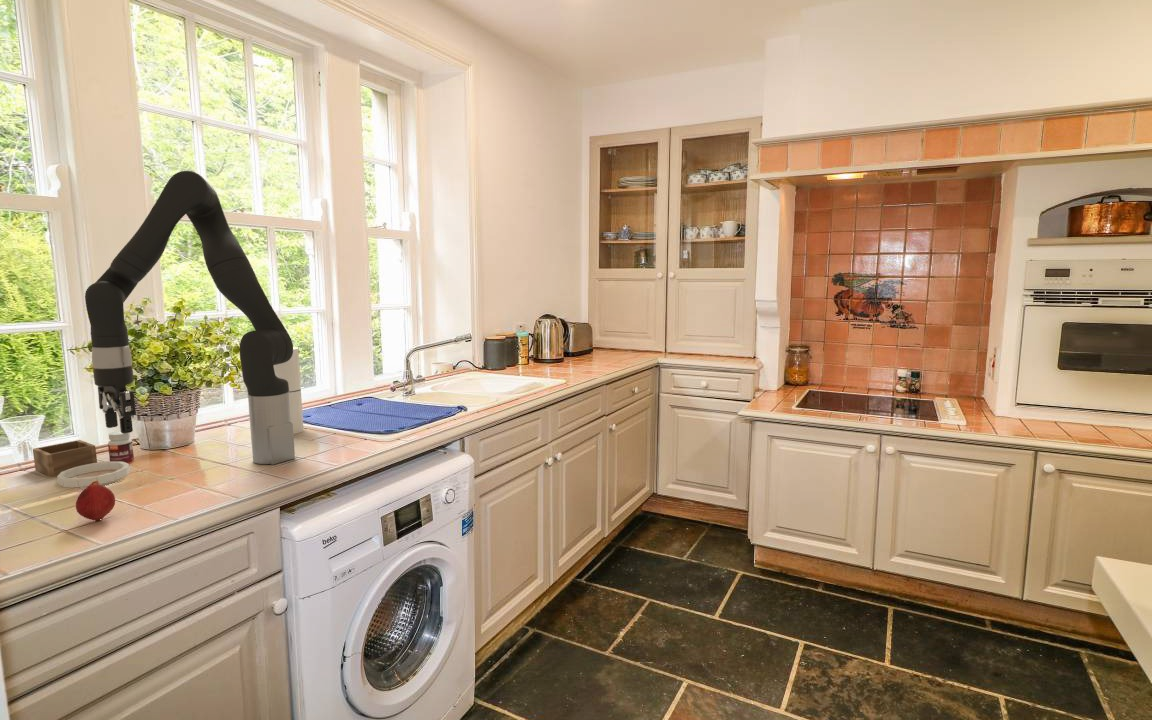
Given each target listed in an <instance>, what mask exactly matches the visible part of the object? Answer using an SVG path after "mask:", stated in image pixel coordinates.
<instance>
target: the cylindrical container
mask: <svg viewBox="0 0 1152 720" xmlns="http://www.w3.org/2000/svg"><path fill="white" fill-rule="evenodd" d="M299 353H300V352H299V347H295V346H293V354H292V357H291V358H290V360H288V361H287V362H285V363H281V364H277V365H273V366H274V372H275V375H276V376H277V377H278V378H281V379H285V380H287V382H288V385H289V400H290V415H291V422H292V423H293V435H295V434H299V433H301V432H304V419H303V417H304V416H303V415H304V414H303V403H302V400H303V399H302V387H301V386H302V385H301V369H300V357H299Z"/></svg>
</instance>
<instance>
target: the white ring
mask: <svg viewBox="0 0 1152 720" xmlns="http://www.w3.org/2000/svg"><path fill="white" fill-rule="evenodd" d="M107 470H108V471H109V470H111V471H112V470H113V471H112V472H108V473H102V474H100V475H96V476H95V475H93V476H88V477H87V476H85V477H77V476H80V475H83V474H86V473H87V474H88V473H92V472H99V471H107ZM130 472H131V470H130V464H128V463H125V462H122V461H110V460H109V461H100V462H97V463H91V464H86V465H82V466H77V467H73V468H71V469H68V470H65V471H63V472H61V473H60V474H59V475H58V476H56V480H57V485H59V486H61V487H63V488H83V487H85V488H86V487H88V486H89V485H90V484H91V483H92V482H93V481H96V480H97V481H98V482H99V485H101V486H104V487H106V486H105V485H108V486H110V485H109V484H112V483H115V482H118V481H120V480H121V479H122V478H125V477H128V475H129V473H130ZM118 483H119V482H118ZM115 484H116V483H115ZM112 485H113V484H112Z"/></svg>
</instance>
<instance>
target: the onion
mask: <svg viewBox="0 0 1152 720" xmlns="http://www.w3.org/2000/svg"><path fill="white" fill-rule="evenodd" d="M101 485H102V484H99V482H98V481H97V480H96V481H93V482H92V483H91V484H90V485H89V486H86V487H85V488H84V490H83V489H82V490H81V492H80V493H79V494H78V497H77V499H76V500H75V501H76V502H75V509H76V512H77V513H78V514H79V515H80V516H81V517H82V518H85V519H87V520H92V521H94V520H100V519H102V520H103V519H104V518H105V517H106V516H107V515H108V514H110V513H111V511H112V510H113V509H114V508H115V505H116V497H115V494H114V492H113V491H112V490H111V489H109V488H108V487H107V486H101ZM100 521H101V520H100Z"/></svg>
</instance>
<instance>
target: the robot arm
mask: <svg viewBox="0 0 1152 720" xmlns="http://www.w3.org/2000/svg"><path fill="white" fill-rule="evenodd" d="M218 195H219V194H218V192H217V191H216V190H215V188H214V187H213V186H212V185H211V184H210V182H208V181H207V180H206V179H205V178H204V176H202V175H201V174H200V173H197V172H196V171H192V170H181V171H179V172H176V173H174V174H173V175H171V176H170V178H169V179H168V181H167V182H166V184H165V186H164V187H163V189H162V190H161V193H160V195H159V196H158V198H157V199H156V202H155V203H154V205H153V206H152V208H151V209H150V211H149V212H148V215H147V216H146V217H145V219H144V221H143V222H142V223H141V225H140V226H139V228H138V229H137V231H136V232H135V233H134V234H133V235H132V237H131V238H130V239H129V241H128V242H126V244H125V245H124V247H123V248H122V249H121V250H120V251H119V253H117V254H116V256H115V257H114V259H112V262H110V266H108V268H107V270H105V271H104V273H102V275H101V276H100V277H99V278H98V279H97V280H96V281H95V282H94V283H92V284H90V285H89V286H88V287H87V288H86V290H85V293H84V299H85V307H86V312H87V315H88V320H89V324H90V341H91V363H92V373H93V381H94V385H95V386H96V387H97V393H98V404H99V405H98V406H99V409H100V410H102V412H103V414H104V419H105V427H106V428H107V429H111V428H112V429H113V428H116V427H118V425H119V429H120V431H121V433H124V434H125V433H133V419H132V417H133V416H136V415H137V411H136V405H135V404H136V403H135V402H136V401H135V395H134V391H133V390H127V385H130V384H132V383H134V370H133V369H134V368H133V359H132V352H131V347H130V340H129V332H128V327H127V325H126V322H125V312H124V311H125V309H124V308H125V307H124V303H125V301H126V300H127V299H128V298H129V296H130V295H131V293H132V292H133V291H134V289H135V288H136V287H137V285H138V284H139V283H140V282H141V281H142V280H143V279H145V277H146V276H147V274H149V272H150V271H151V270H152V269H153V268H154V267H155V266H156V264H157V263H158V262H159V260H160V259H161V257H162V256H163V254H164V252H165V249H166V248H167V245H168V243H169V239H170V238H171V236H172V232H173V230H174V229H175V227H176V226H177V225H178V223H179V222H180V221H181V219H183V217H185V215H186V216H187V218H188V220H189V221H190V222H191V224H192V225H193V227H194V229H195V231H196V232H197V235H198V238H199V239H200V243H201V248H202V254H203V259H204V262H205V265H206V268H207V271H208V272H209V275H210V277H211V278H212V280H213V282H214V285H215V287H216V288H217V290H218V291H219V292H220V294H221V295H223V297H225V298H226V300H228V301H229V302H230V303H231V304H233V305H234V306H235V307H236V308H237V309H239V310H240V311H241V312H242V313H243V314H244V315H245V316H246V318H247V319H248V320H249V321H250V323H251V324H252V326H253V329H254V330H249V331H247V332H246V333H245V334H243V335H242V336H241V339H240V341H239V347H238V349H239V350H238V351H239V358H240V359H239V361H240V365H241V373H242V379H243V384H244V385H245V387H246V390H247V400H248V413H249V414H248V415H249V424H250V425H249V426H250V427H249V429H250V439H251V452H252V453H251V454H252V462H253V463H255V464H259V465H268V464H269V465H276V464H280V463H283V462H286V461H289V460H293V459H296V451H295V440H294V439H295V438H294V437H295V436H294V435H295V434H293V423H292V422H291V415H290V400H289V385H288V382H287V380H285V379H281V378H278V377H277V376H276V375H275V372H274V366H273V365H277V364H281V363H285V362H287V361H288V360H290V358H291V357H292V354H293V347H294V343H293V341H292V337H291V335H290V333H289V332H288V330H287V329H286V327H285V326H284V323H282V321H281V319H280V318H279V316H278V315H277V312H275V310H274V308H273V307H272V305H271V303H270V301H269V299H268V297H267V296H266V294H265V292H264V289H263V288H262V286H261V284H260V282H259V280H258V277H257V275H256V273H255V271H254V269H253V266H252V264H251V263H250V261H249V259H248V257H247V255H246V254H245V251H244V249H243V247H242V246H241V244H240V242H239V240H238V239H237V238H236V236H235V235H234V232H233V231H232V230H231V227H230V225H229V223H228V221H227V218H226V216H225V213H224V210H223V207H222V205H221V201H220V198H219V196H218ZM118 417H119V423H118Z"/></svg>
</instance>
